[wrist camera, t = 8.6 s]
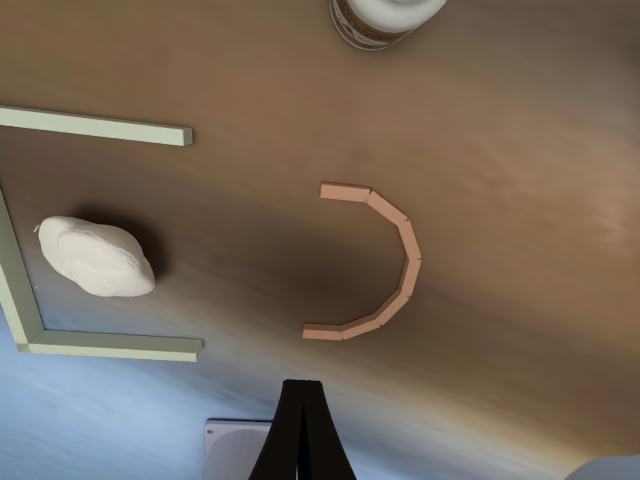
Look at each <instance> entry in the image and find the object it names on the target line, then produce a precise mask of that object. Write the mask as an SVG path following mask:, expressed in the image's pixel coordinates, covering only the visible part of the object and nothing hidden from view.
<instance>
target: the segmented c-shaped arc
mask: <svg viewBox="0 0 640 480" xmlns="http://www.w3.org/2000/svg"><path fill="white" fill-rule="evenodd" d="M320 197H321V198H330V199H340V200H349V201H359V202H366V203H367V204H369V205H370V206H371V207H373V208H374V209H375V210H377V211H378V212H379V213H381V214H382V215H383V216H385V217H386V218H387V219H389V220H390V221H391V222H393V223H394V224H395V225H396V227H397V230H398V233H399V236H400V239H401V242H402V245H403V247H404V250H405V253H406V259H405V263H404V267H403V271H402V274H401V278H400V282H399V286H398V289H397V290H396V291H395V292H394V293H393V294H392V295H391V296H390V297H389V298H388V299H387V300H386V301H385V302H384V303H383V304H382V305H381V306H380V307H379V308H378V309H377V310H376V311H375V312H374V313H373V314H371V315H368V316H365V317H363V318H360V319H357V320H354V321H352V322H349V323H346V324H343V325H341V326H339V325H324V324H309V323H304V327H303V338H312V339H327V340H341V339H342V337H343V339H344V340H345V339H348V338H351V337H354V336H357V335H359V334H362V333H365V332H368V331H370V330H373V329H376V328H379V327H380V324H381V325H384V324H385V323H386V322H387V321H388V320H389V319H390V318H391V317H392V316H393V315H394V314H395V313H396V312H397V311H398V310H399V309H400V308H401V307H402V306H403V305H404V304H405V303H406V302H407V301H408V300H409V299H410V298H409V296H411V295H412V292H413V288H414V285H415V281H416V278H417V274H418V271H419V267H420V264H421V259H420V258H422V257H421V254H420V251H419V248H418V245H417V242H416V239H415V236H414V233H413V229H412V226H411V223H410V220H409V219H408V217H407V216H406V215H405V214H404V213H403V212H401V211H400V210H399V209H397V208H396V207H395V206H393V205H392V204H391V203H390V202H388V201H387V200H386V199H384V198H383V197H382V196H381V195H379V194H378V193H377V192H375V191H374V190H373V189H371V188H370V189H369V188H368V187H366V186H357V185H347V184H338V183H329V182H321V188H320Z"/></svg>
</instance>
